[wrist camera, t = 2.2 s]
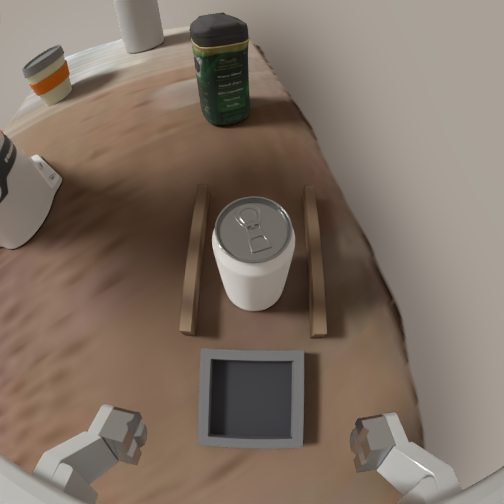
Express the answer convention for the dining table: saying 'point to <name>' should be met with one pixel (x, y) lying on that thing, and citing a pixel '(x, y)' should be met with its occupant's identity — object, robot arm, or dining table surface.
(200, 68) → the coffee jar
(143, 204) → the dining table surface
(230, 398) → the tray
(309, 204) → the rail channel
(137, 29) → the cylinder vase
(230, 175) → the dining table surface
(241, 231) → the can
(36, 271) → the dining table surface
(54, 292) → the dining table surface
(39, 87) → the reusable coffee cup
